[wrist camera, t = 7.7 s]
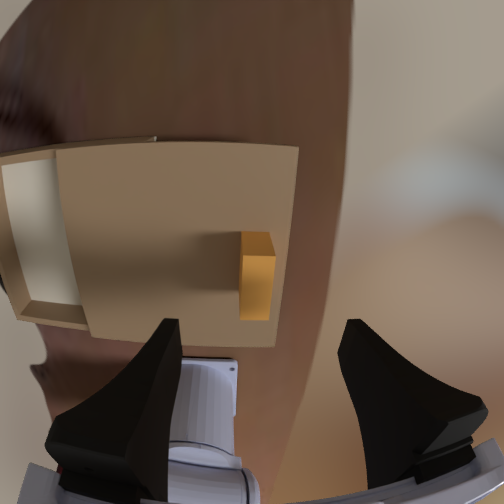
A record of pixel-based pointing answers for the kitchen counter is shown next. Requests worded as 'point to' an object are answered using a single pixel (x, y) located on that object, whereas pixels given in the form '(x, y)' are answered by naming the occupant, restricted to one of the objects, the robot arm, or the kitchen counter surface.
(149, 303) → the lid panel
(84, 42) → the kitchen counter surface
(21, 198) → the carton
